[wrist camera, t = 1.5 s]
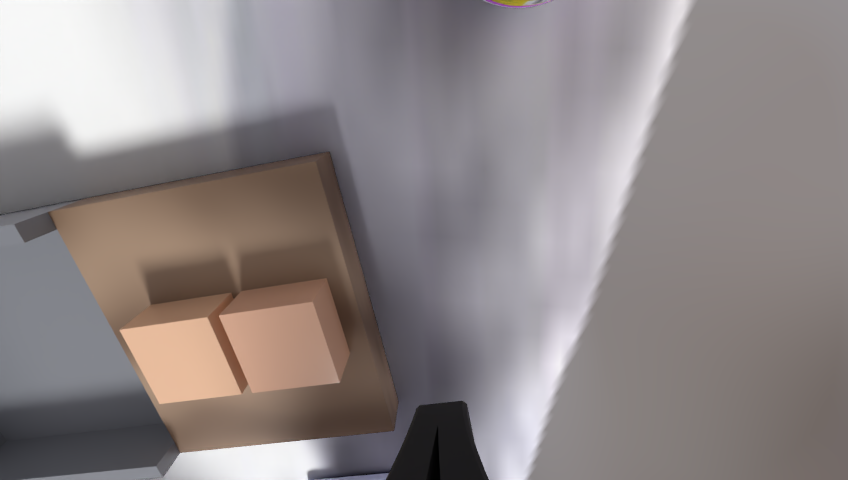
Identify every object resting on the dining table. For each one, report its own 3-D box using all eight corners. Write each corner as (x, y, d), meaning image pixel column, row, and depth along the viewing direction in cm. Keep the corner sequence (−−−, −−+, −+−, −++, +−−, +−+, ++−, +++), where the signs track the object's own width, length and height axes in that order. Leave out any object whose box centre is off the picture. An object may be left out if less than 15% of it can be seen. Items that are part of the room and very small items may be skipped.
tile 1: (350, 353, 20) (339, 382, 18) (270, 363, 20) (252, 392, 18) (326, 278, 18) (312, 301, 16) (241, 291, 19) (218, 315, 17)
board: (398, 402, 23) (394, 430, 21) (200, 423, 25) (180, 452, 23) (329, 151, 18) (315, 161, 16) (85, 198, 20) (47, 211, 18)
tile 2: (260, 364, 20) (241, 394, 19) (185, 374, 21) (159, 404, 19) (231, 292, 19) (207, 317, 17) (150, 304, 19) (119, 329, 18)
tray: (200, 423, 25) (162, 477, 22) (10, 445, 26) (-51, 497, 23) (85, 198, 20) (13, 224, 17) (-141, 241, 21) (-246, 272, 18)
